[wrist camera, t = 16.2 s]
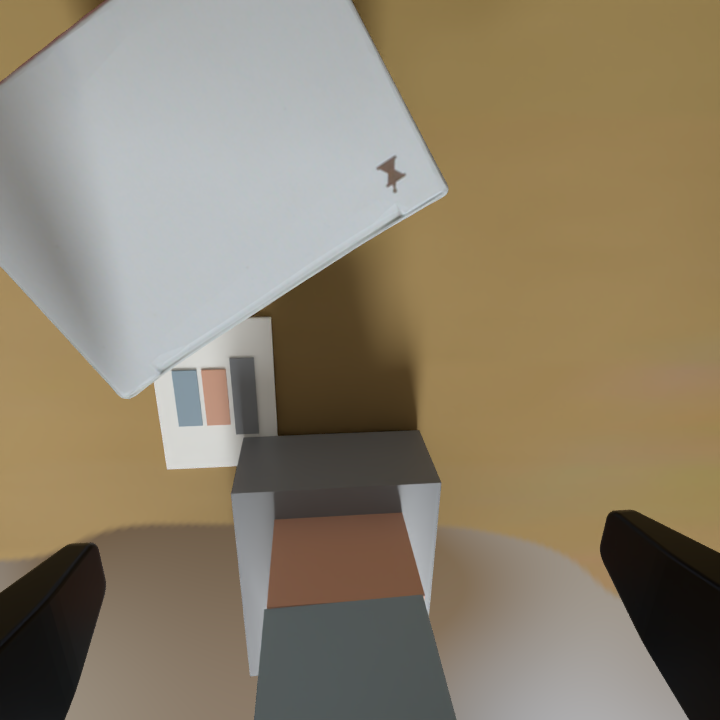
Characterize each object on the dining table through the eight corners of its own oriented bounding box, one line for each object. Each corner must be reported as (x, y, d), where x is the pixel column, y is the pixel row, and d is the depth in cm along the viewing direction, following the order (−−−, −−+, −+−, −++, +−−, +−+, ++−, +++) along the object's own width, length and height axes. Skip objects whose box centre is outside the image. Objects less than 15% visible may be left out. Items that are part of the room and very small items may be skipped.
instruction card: (271, 316, 20) (270, 318, 20) (279, 461, 23) (279, 465, 22) (146, 318, 20) (143, 320, 19) (168, 466, 22) (166, 470, 22)
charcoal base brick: (419, 430, 23) (441, 482, 19) (407, 590, 26) (424, 660, 23) (243, 437, 22) (231, 493, 18) (258, 602, 26) (250, 676, 22)
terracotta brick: (402, 512, 19) (424, 595, 16) (394, 637, 22) (412, 734, 18) (274, 519, 19) (266, 607, 15) (282, 647, 21) (277, 748, 18)
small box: (299, 33, 17) (290, -162, 7) (381, 180, 19) (463, 188, 9) (115, 164, 18) (-122, 153, 8) (212, 291, 20) (119, 409, 10)
